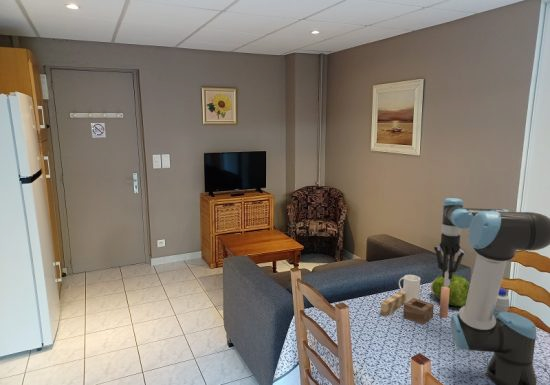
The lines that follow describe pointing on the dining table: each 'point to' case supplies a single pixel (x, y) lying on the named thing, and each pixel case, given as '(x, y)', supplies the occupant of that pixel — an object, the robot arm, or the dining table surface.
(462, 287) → the lettuce
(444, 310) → the dowel
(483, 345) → the robot arm
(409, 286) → the mug
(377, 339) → the dining table surface
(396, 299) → the backstop
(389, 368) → the dining table surface
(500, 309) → the bottle
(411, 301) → the block
